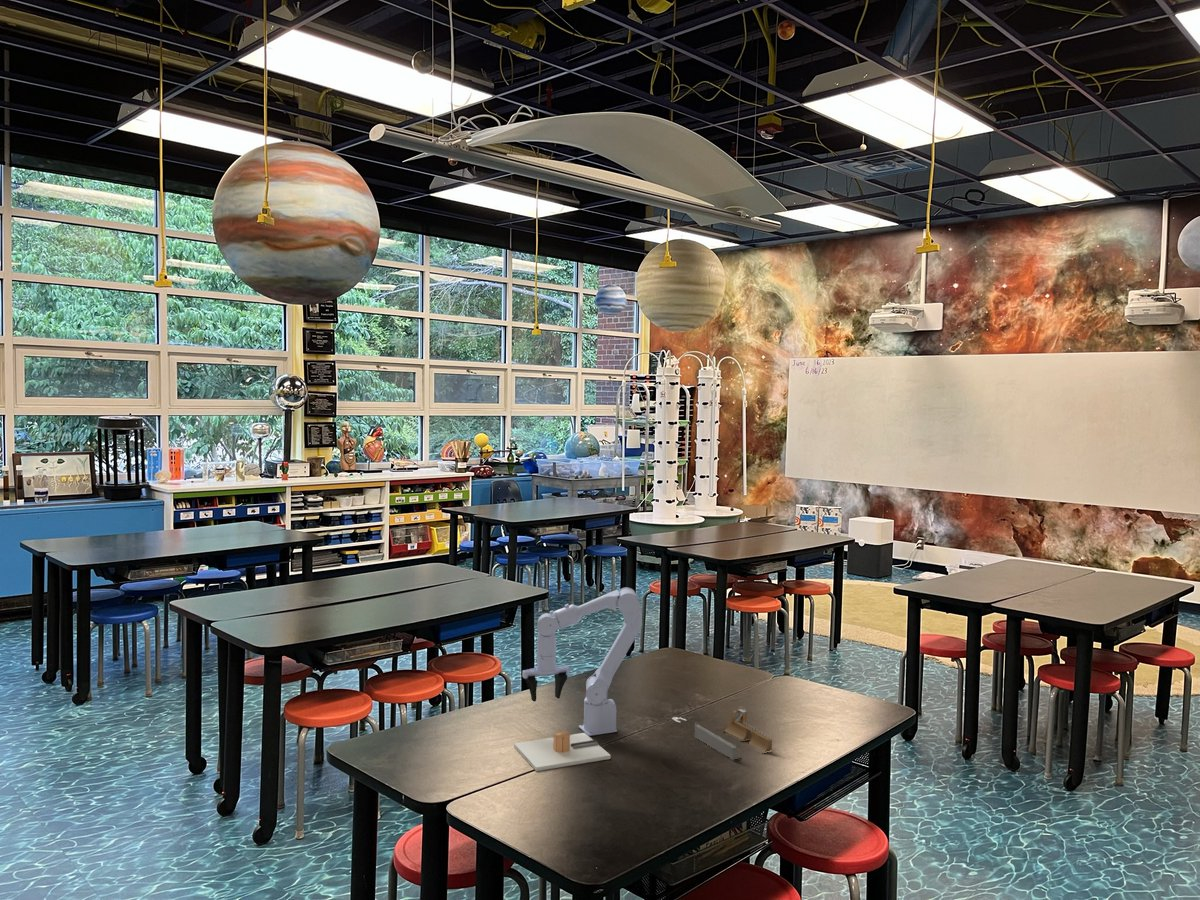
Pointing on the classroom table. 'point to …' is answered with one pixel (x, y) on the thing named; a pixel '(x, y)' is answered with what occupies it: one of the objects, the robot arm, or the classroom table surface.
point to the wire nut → (561, 741)
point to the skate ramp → (737, 730)
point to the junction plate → (547, 758)
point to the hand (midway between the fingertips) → (545, 699)
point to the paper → (678, 719)
